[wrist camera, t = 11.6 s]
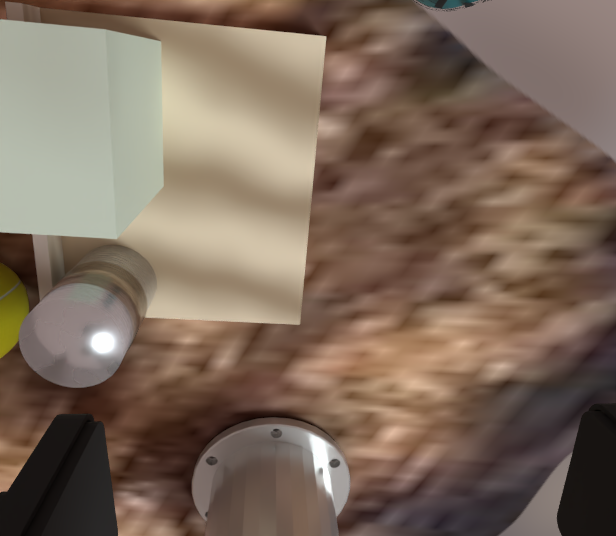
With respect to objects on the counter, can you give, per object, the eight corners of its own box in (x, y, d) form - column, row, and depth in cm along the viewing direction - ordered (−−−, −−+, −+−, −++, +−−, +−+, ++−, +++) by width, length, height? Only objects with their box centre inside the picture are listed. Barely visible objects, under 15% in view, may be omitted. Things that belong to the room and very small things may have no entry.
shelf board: (298, 314, 36) (301, 339, 33) (64, 303, 35) (43, 328, 31) (323, 37, 29) (330, 34, 26) (35, 9, 28) (4, 1, 25)
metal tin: (158, 318, 34) (126, 390, 26) (79, 315, 33) (23, 386, 26) (156, 246, 32) (122, 301, 24) (72, 241, 31) (11, 296, 24)
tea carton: (161, 41, 28) (105, 29, 18) (163, 186, 31) (116, 238, 21) (62, 31, 27) (-46, 14, 18) (74, 180, 30) (-13, 231, 21)
